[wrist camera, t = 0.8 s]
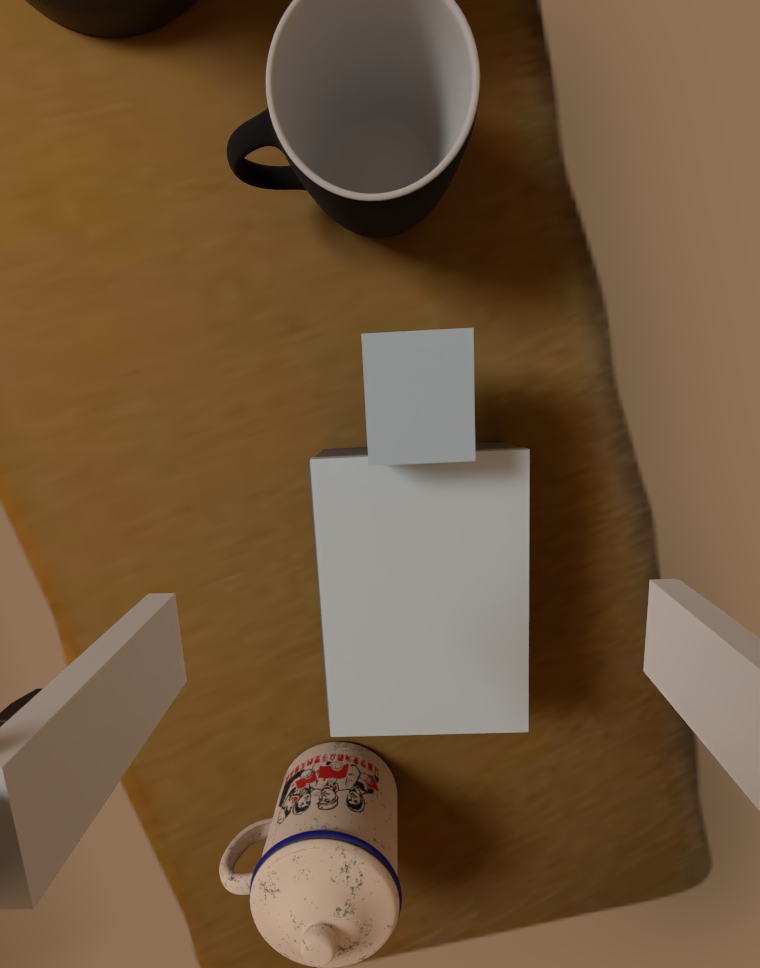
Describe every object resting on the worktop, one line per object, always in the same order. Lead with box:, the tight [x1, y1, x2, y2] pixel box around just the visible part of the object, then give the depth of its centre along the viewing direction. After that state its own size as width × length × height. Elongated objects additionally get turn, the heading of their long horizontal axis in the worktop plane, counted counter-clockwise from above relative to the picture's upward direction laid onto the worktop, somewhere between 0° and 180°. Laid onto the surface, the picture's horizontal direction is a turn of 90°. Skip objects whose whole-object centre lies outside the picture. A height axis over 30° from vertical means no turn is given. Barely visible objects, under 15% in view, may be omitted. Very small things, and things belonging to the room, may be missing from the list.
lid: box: [310, 328, 530, 737], centre depth 28 cm, size 23×12×5 cm, turn 3°
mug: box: [227, 0, 480, 237], centre depth 27 cm, size 12×9×10 cm
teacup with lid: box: [219, 742, 402, 968], centre depth 34 cm, size 12×9×12 cm
